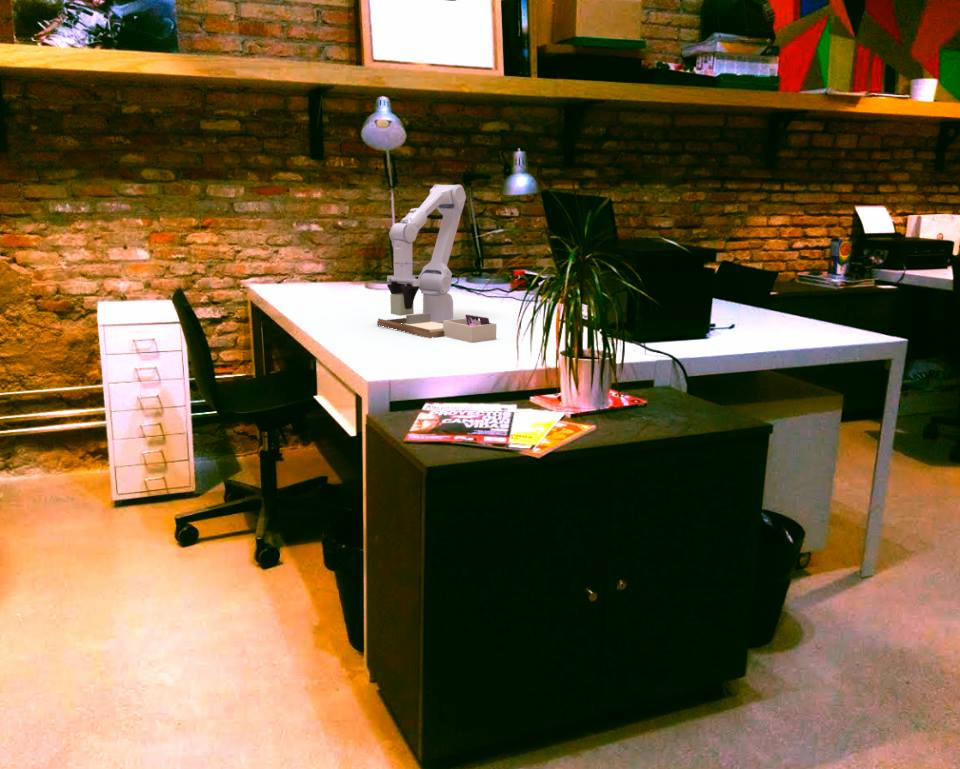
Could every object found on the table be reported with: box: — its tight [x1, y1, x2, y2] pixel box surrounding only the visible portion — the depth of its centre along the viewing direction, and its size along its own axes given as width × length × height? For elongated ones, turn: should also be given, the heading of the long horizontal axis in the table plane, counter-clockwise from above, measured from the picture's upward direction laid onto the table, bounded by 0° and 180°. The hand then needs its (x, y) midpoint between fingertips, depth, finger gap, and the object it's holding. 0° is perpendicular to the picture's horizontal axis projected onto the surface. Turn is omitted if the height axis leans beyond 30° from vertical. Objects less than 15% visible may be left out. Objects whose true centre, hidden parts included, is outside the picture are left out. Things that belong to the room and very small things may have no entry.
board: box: [376, 317, 445, 339], centre depth 260 cm, size 11×27×2 cm, turn 40°
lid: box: [405, 313, 443, 332], centre depth 255 cm, size 10×13×3 cm
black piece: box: [464, 314, 491, 326], centre depth 247 cm, size 7×5×9 cm
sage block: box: [390, 293, 415, 317], centre depth 263 cm, size 5×5×6 cm
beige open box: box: [442, 317, 497, 343], centre depth 248 cm, size 9×13×4 cm
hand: (403, 307), depth 263 cm, fingers closed on sage block, 5 cm apart
